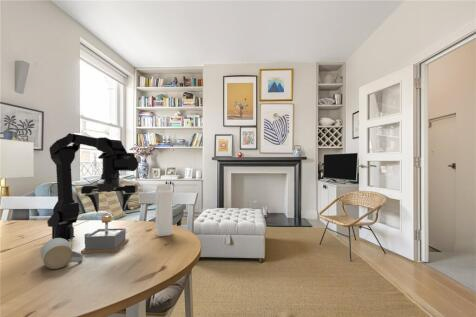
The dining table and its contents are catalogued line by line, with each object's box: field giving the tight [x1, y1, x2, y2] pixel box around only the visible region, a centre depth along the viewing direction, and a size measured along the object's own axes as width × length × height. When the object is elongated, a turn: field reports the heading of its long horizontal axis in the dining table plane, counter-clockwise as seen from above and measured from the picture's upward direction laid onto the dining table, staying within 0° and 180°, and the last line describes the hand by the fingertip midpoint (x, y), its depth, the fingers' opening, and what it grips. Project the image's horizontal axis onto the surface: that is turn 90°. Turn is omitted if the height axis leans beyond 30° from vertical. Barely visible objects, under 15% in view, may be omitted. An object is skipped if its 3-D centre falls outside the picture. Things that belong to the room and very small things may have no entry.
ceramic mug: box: [40, 238, 84, 270], centre depth 77 cm, size 11×8×8 cm
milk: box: [155, 183, 173, 238], centre depth 109 cm, size 6×6×22 cm
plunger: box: [92, 215, 121, 236], centre depth 92 cm, size 8×8×7 cm
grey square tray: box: [80, 227, 130, 255], centre depth 92 cm, size 14×12×6 cm
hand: (110, 211), depth 94 cm, fingers open, 9 cm apart
